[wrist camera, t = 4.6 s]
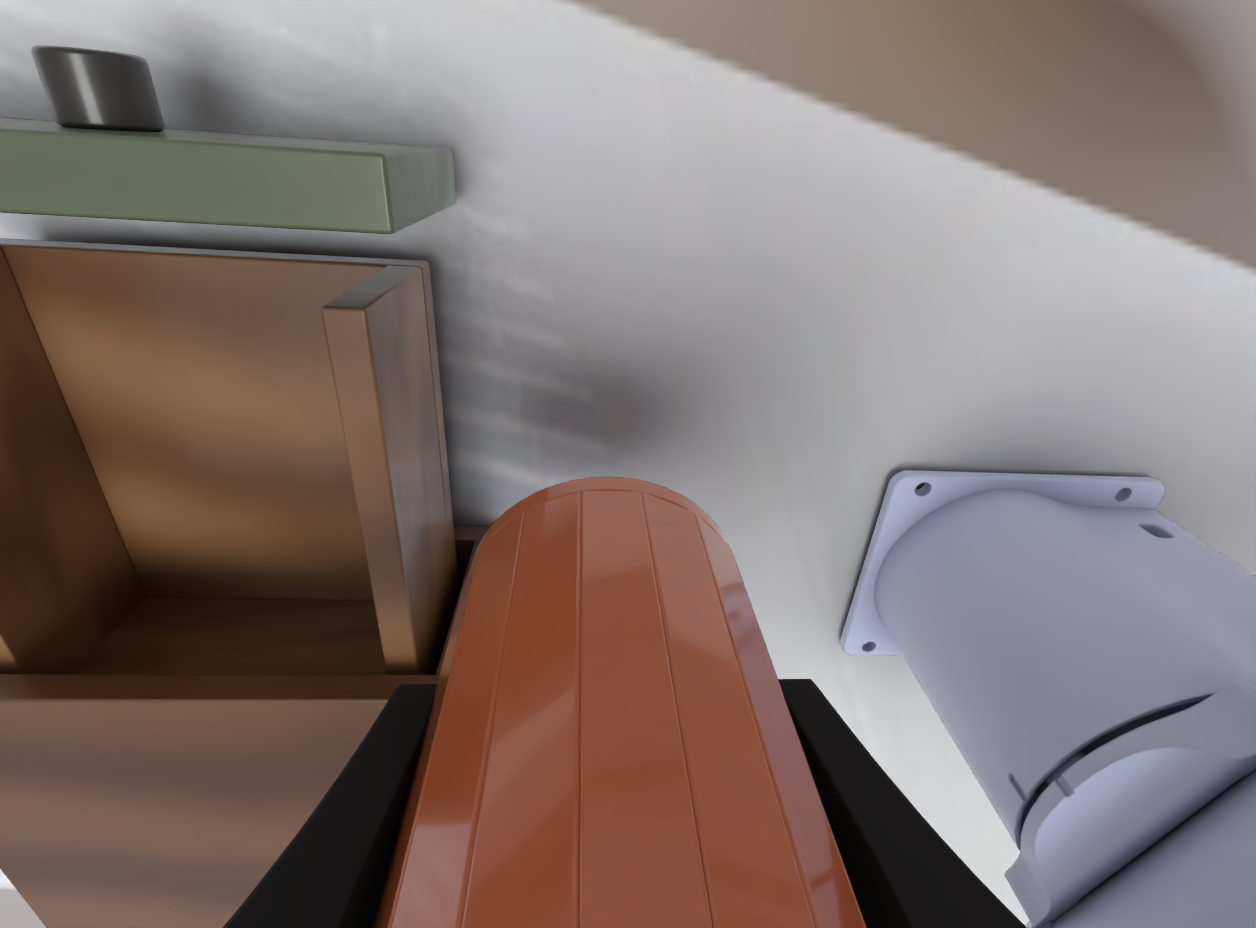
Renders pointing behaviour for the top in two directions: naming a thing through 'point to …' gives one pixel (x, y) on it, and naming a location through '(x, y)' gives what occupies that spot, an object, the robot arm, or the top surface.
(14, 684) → the cabinet
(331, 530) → the drawer
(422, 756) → the tumbler
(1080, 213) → the top surface
